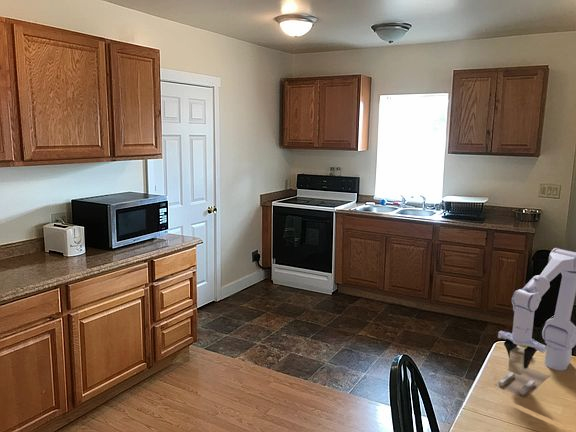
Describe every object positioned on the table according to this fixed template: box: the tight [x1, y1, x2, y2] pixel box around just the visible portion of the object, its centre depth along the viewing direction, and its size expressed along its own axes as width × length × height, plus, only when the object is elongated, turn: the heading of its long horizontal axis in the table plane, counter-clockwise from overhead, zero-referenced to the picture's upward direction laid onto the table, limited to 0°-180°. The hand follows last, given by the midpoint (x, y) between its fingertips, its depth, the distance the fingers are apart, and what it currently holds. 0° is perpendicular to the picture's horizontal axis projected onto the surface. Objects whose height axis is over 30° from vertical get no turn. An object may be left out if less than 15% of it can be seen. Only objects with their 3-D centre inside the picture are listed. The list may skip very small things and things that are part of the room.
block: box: [507, 346, 530, 375], centre depth 157 cm, size 4×6×7 cm, turn 131°
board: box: [494, 367, 550, 399], centre depth 161 cm, size 20×10×3 cm, turn 131°
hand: (518, 364), depth 157 cm, fingers closed on block, 4 cm apart
